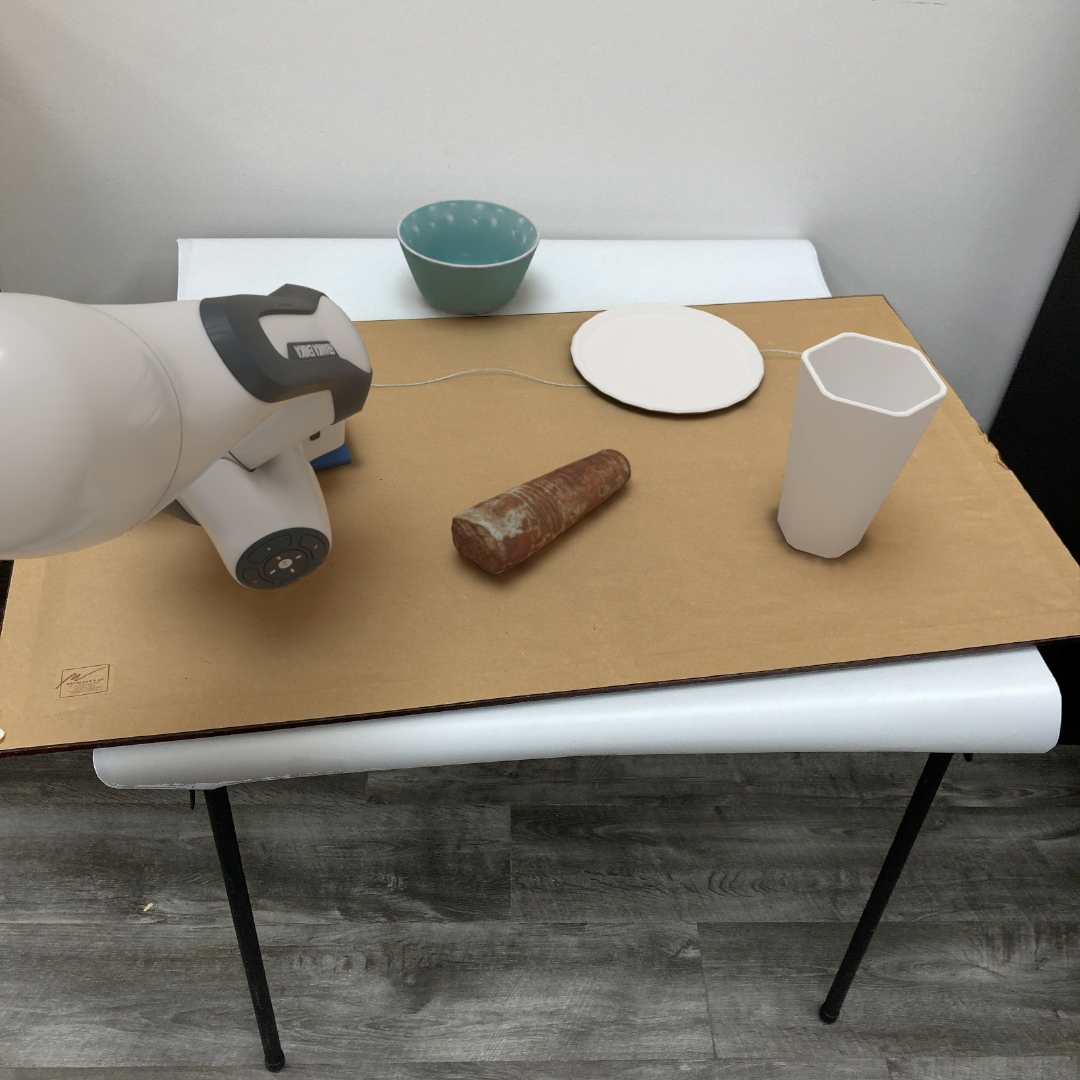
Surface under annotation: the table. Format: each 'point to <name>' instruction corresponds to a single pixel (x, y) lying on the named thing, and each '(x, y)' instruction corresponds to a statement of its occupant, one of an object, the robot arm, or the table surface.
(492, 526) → the brown rounded cylinder
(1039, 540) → the table surface
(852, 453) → the cup
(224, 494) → the robot arm
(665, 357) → the plate
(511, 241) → the bowl
